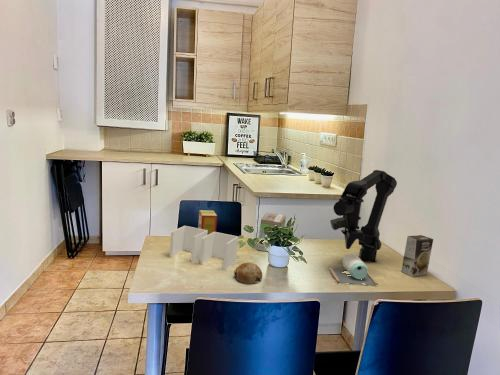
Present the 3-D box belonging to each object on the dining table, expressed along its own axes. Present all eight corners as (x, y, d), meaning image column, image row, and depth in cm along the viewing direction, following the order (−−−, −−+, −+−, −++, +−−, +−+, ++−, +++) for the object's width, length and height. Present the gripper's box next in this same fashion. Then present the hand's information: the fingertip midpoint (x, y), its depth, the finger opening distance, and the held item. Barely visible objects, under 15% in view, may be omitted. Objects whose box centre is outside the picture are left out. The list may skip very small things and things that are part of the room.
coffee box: (412, 277, 168) (419, 240, 165) (400, 271, 173) (406, 235, 171) (427, 275, 172) (434, 239, 169) (415, 269, 178) (421, 234, 175)
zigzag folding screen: (236, 262, 167) (238, 236, 165) (225, 270, 157) (227, 243, 155) (183, 249, 176) (184, 225, 174) (169, 257, 165) (171, 231, 163)
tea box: (278, 253, 182) (282, 222, 179) (256, 250, 183) (259, 218, 181) (282, 244, 196) (286, 214, 193) (262, 241, 198) (265, 211, 195)
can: (338, 262, 169) (347, 273, 157) (350, 249, 168) (360, 260, 156) (350, 272, 170) (360, 284, 158) (362, 259, 169) (372, 271, 158)
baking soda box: (214, 250, 178) (217, 215, 175) (199, 250, 177) (202, 214, 174) (210, 243, 187) (213, 209, 184) (196, 243, 186) (199, 209, 183)
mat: (365, 272, 169) (366, 269, 169) (377, 286, 155) (378, 283, 155) (328, 269, 168) (328, 266, 168) (336, 283, 154) (337, 280, 154)
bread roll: (246, 295, 146) (257, 278, 143) (226, 276, 149) (236, 260, 146) (260, 286, 154) (270, 271, 151) (241, 268, 158) (250, 253, 155)
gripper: (328, 206, 176) (323, 240, 179) (339, 217, 158) (334, 255, 161) (352, 208, 177) (348, 242, 180) (367, 219, 159) (361, 257, 161)
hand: (347, 248), depth 170 cm, fingers closed
